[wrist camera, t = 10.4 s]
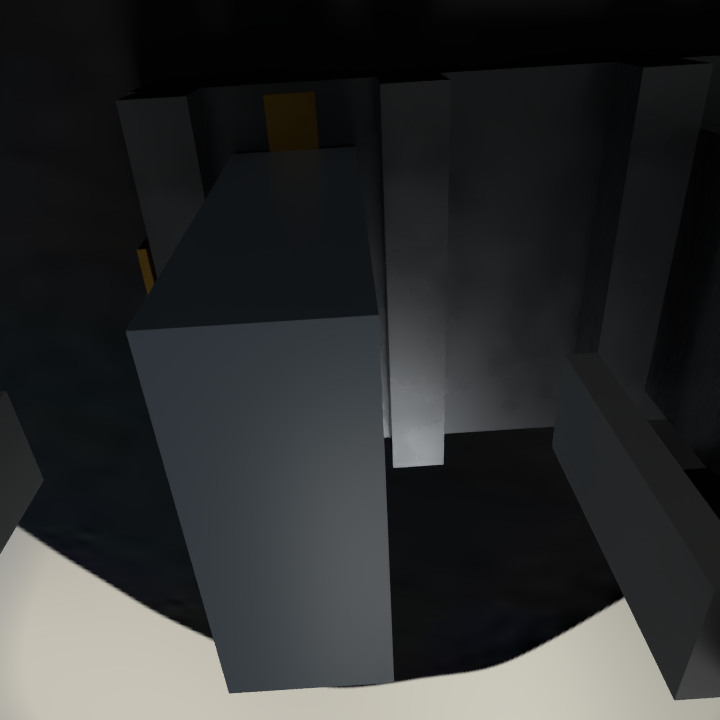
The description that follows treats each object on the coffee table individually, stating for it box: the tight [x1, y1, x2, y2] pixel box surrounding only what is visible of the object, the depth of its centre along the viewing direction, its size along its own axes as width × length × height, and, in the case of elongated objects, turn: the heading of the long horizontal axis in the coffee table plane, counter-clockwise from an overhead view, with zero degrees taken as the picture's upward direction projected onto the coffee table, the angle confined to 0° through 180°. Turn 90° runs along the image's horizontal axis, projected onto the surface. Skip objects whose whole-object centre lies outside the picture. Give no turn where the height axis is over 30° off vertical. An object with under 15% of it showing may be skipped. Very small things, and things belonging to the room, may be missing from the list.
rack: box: [116, 51, 720, 476], centre depth 18 cm, size 14×25×14 cm, turn 93°
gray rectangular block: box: [126, 147, 394, 693], centre depth 17 cm, size 10×4×12 cm, turn 3°
